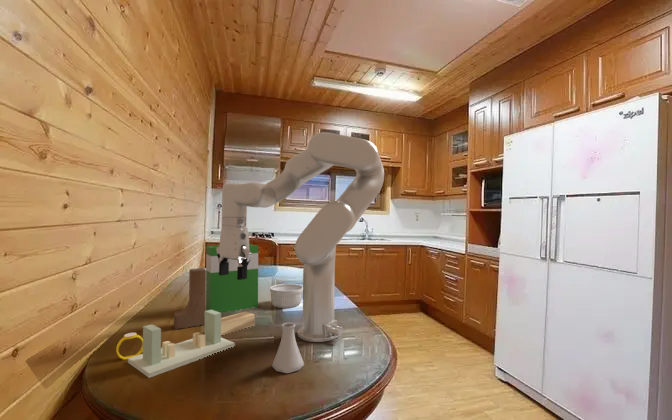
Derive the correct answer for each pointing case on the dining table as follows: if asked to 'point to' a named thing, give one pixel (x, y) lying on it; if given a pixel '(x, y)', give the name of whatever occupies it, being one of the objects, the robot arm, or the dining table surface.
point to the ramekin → (286, 295)
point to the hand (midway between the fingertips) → (232, 277)
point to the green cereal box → (231, 283)
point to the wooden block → (193, 301)
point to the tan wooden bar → (237, 322)
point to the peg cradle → (179, 347)
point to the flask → (288, 351)
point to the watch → (129, 336)
